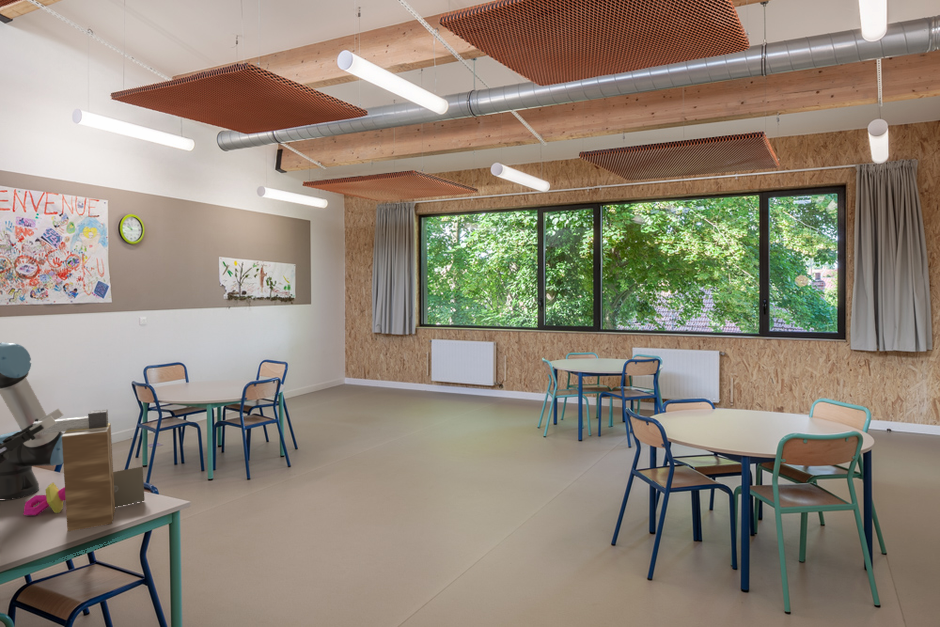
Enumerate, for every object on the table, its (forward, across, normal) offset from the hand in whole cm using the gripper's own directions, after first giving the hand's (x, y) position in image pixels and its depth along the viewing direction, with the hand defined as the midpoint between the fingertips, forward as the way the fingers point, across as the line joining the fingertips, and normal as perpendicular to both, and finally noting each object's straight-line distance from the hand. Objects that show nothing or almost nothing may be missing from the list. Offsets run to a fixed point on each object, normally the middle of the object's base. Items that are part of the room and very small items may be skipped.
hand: (57, 415), depth 191 cm
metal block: (+1, 0, -6) cm, 6 cm away
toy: (-22, -15, -28) cm, 39 cm away
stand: (-11, +3, -35) cm, 36 cm away
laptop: (-7, -12, -38) cm, 40 cm away
